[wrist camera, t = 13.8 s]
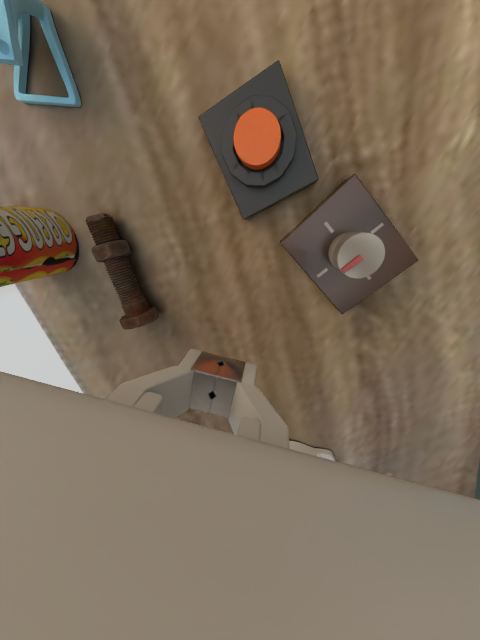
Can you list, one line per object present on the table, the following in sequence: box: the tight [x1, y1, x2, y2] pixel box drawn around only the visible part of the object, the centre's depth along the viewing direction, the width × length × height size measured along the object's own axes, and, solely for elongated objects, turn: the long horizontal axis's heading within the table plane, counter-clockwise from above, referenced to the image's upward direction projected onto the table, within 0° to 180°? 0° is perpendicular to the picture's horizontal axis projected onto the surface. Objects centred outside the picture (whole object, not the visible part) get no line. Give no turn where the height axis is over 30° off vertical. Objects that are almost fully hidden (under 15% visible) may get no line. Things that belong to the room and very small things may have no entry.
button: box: [233, 107, 281, 170], centre depth 23 cm, size 4×4×2 cm
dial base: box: [280, 174, 418, 314], centre depth 29 cm, size 12×10×3 cm
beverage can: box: [0, 206, 79, 287], centre depth 29 cm, size 9×9×12 cm
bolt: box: [86, 213, 159, 329], centre depth 33 cm, size 6×5×15 cm
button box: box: [199, 60, 318, 220], centre depth 25 cm, size 11×9×4 cm
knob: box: [328, 231, 385, 279], centre depth 25 cm, size 4×4×5 cm
